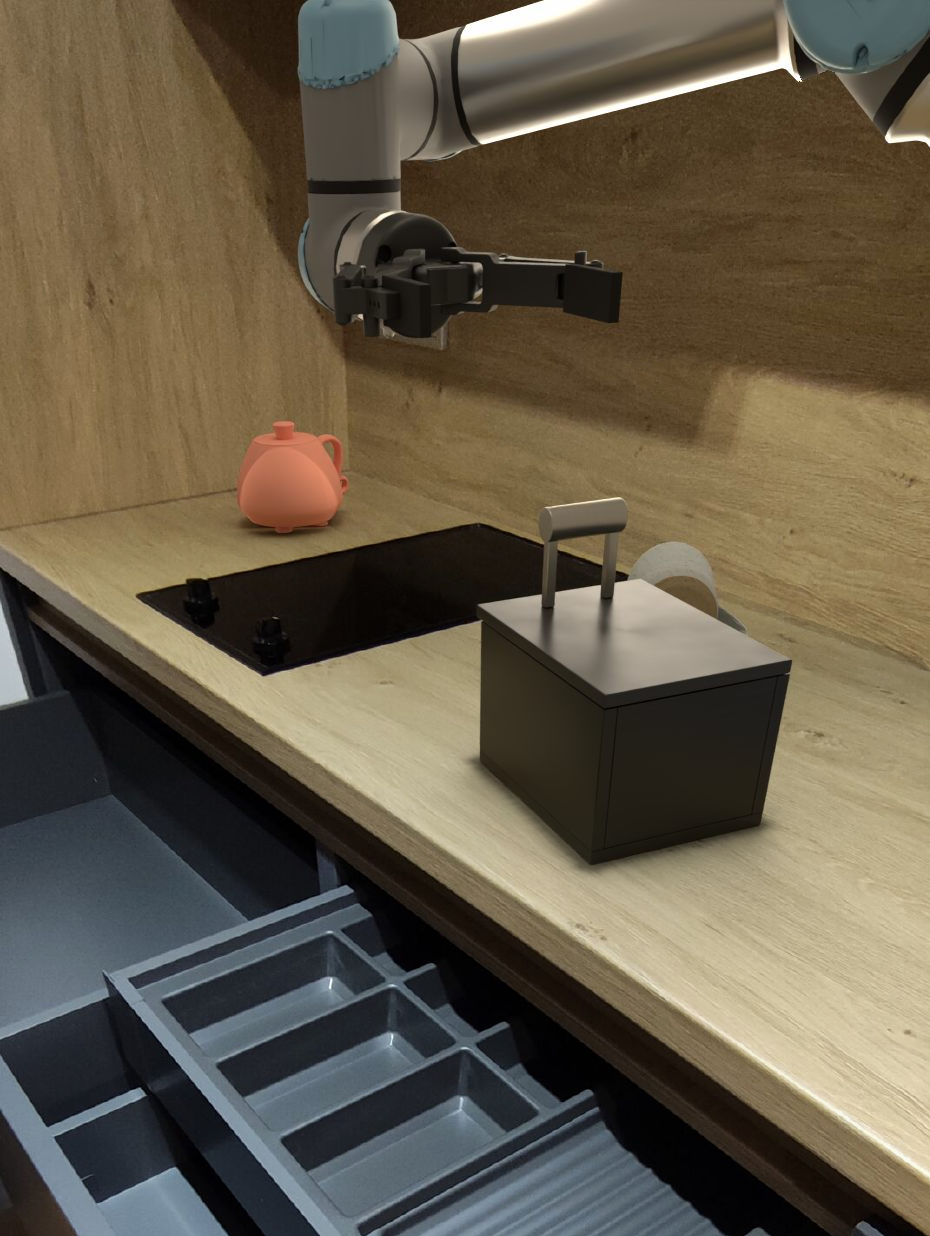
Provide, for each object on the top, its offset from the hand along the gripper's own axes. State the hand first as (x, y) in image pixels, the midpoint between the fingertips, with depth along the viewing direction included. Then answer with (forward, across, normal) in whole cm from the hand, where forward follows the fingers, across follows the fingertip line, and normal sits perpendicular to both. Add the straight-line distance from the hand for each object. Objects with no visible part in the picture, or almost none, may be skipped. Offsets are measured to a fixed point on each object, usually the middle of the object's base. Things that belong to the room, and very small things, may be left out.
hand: (523, 304), depth 71 cm
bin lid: (+16, 0, -16) cm, 23 cm away
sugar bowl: (-61, -2, -27) cm, 67 cm away
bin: (+16, 0, -26) cm, 31 cm away
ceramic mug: (-6, -20, -26) cm, 33 cm away
